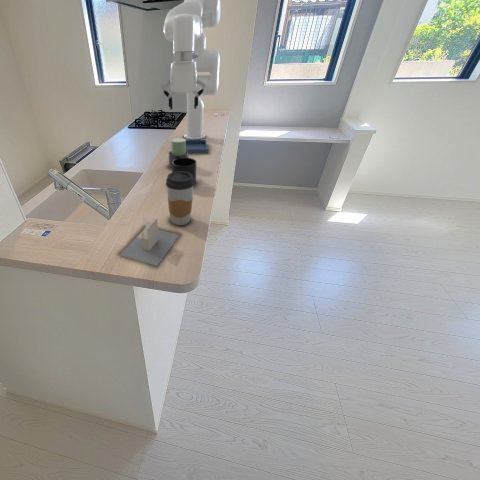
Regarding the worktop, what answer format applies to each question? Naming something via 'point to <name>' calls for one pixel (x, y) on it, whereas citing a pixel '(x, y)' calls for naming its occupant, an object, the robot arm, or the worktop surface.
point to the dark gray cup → (172, 157)
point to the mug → (185, 166)
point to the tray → (196, 146)
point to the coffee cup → (180, 196)
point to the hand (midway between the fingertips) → (183, 108)
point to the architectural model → (150, 244)
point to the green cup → (178, 146)
